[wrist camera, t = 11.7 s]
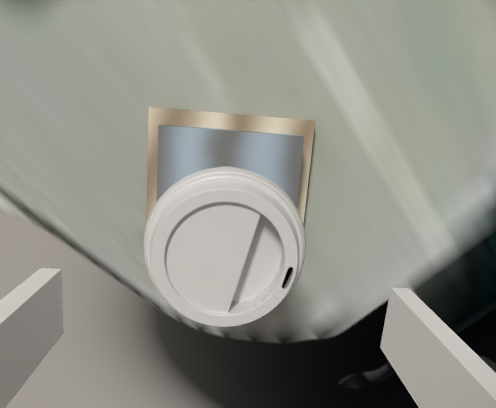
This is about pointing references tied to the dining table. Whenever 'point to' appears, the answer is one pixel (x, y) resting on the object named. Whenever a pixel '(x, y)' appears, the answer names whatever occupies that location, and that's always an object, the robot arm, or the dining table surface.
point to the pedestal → (227, 149)
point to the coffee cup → (224, 246)
